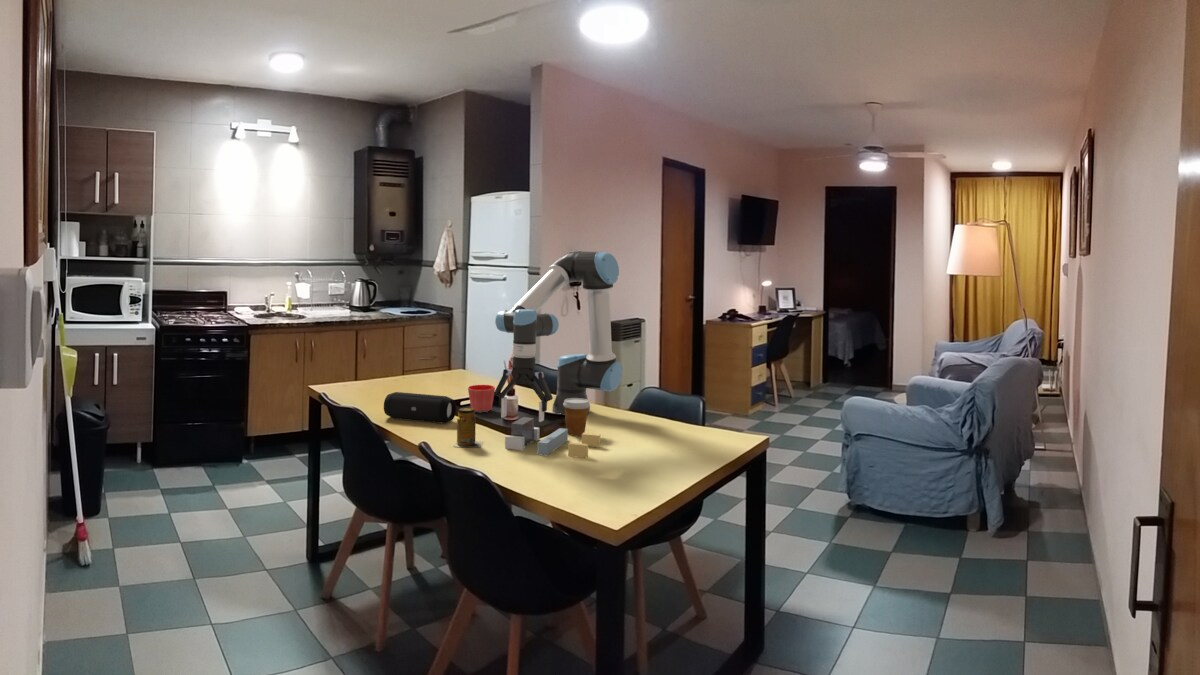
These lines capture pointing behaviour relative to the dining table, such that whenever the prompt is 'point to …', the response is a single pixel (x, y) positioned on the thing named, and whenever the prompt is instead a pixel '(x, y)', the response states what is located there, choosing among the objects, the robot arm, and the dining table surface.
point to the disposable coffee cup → (576, 415)
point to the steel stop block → (524, 429)
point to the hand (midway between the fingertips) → (522, 418)
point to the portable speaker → (420, 407)
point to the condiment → (466, 429)
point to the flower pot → (481, 397)
